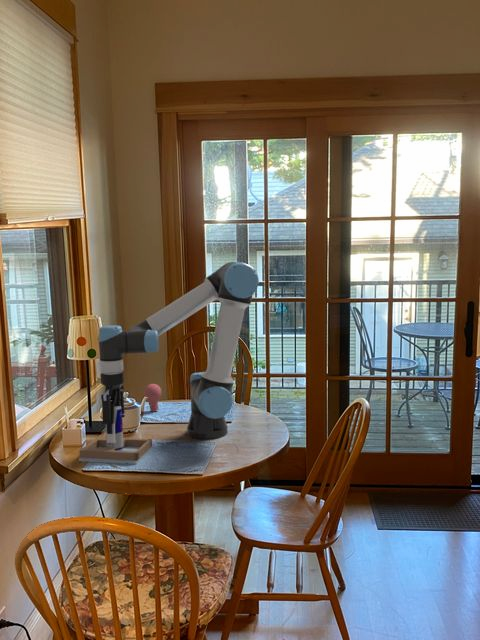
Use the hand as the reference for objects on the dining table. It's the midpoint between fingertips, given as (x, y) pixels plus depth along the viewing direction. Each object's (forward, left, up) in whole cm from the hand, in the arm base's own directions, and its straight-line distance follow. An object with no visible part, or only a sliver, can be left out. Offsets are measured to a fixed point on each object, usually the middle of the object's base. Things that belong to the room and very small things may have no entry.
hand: (115, 439), depth 193 cm
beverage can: (0, 0, -4) cm, 4 cm away
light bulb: (+5, -51, -5) cm, 52 cm away
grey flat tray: (0, 0, -5) cm, 5 cm away
